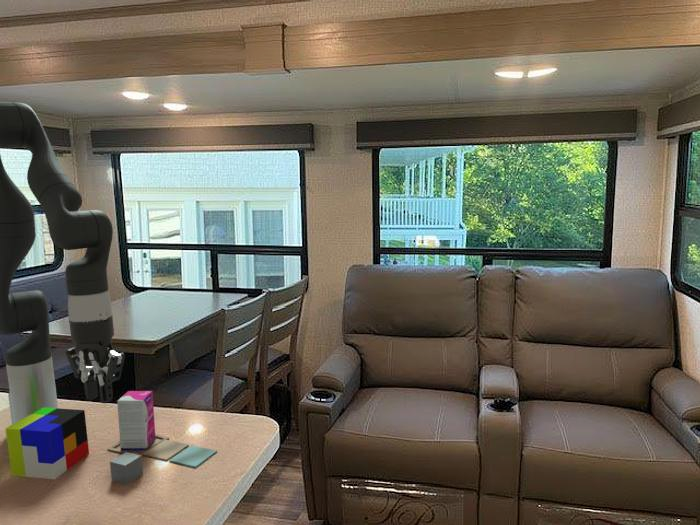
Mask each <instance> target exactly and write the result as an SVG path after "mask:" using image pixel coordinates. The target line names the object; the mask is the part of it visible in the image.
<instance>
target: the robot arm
mask: <svg viewBox="0 0 700 525" xmlns="http://www.w3.org/2000/svg"><path fill="white" fill-rule="evenodd" d="M17 148H18V149H20V148H22V149H23V148H26V149H27V150H28V151H29V152H30V153H31V159H30V163H29V166H28V169H27V174H26V179H27V184H28V187H29V190H30V191H31V193H32V194H33V196H34V197H35V199H36V201H37V202H38V203H39V205H40V206H41V207H42V209H43V212H44V215H45V219H46V223H47V227H48V233H49V236H50V239H51V241H52V243H54V245H55V246H57V247H58V248H60V249H62V250H66V251H72V250H74V251H75V250H80V249H81V250H82V249H86V250H85V253H84V256H83V257H82V258H80V259H78V260H76V261H73V262H71V263H69V264H67V266H66V267H65V282H66V291H67V314H68V323H69V332H70V340H71V342H72V343H74V344H75V346H73V347H71V348H68V349H66V350H65V355H66V358H67V360H68V363H69V366H70V367H71V370H72V373H73V376H74V377H75V378H76V379H80V380H81V382H82V383H83V386H84V395H85V398H86V400H87V401H93V400H96V399H97V398H98V396H99V398H100V399H99V400H100V403H101V404H107V403H110V402H111V401H113V398H114V393H113V390H114V389H113V382H115V381H119V380H120V379H121V376H122V371H123V367H124V365H125V364H124V363H125V358H126V354H125V353H124V352H120V353H118V352H116V351H115V349H114V347H113V344H112V339H113V337H114V335H115V329H114V328H115V327H114V318H113V308H112V300H111V296H110V295H111V294H110V291H109V283H108V282H109V281H108V273H107V272H108V271H107V269H108V263H109V258H110V251H111V246H112V243H113V242H112V241H113V233H114V232H113V231H114V227H113V224H112V220H111V219H110V217H109V216H108V215H107V213H105V212H104V211H102V210H98V209H91V210H80V209H81V207H82V205H83V197H82V195H81V193H80V192H79V190H78V188H77V187H76V185H75V184H74V183H73V182H72V180H71V179H70V177H69V176H68V174H67V173H66V172H65V171H64V169H63V166H61V164H60V162H59V159H58V158H57V155H56V153H55V151H54V149H53V147H52V143H51V142H50V139H49V138H48V135H47V133H46V131H45V129H44V127H43V124H42V123H41V120H40V119H39V117H38V115H37V113H36V112H35V111H34V110H33V108H32V107H31V106H30V105H28V104H27V103H22V102H16V101H0V149H17ZM35 220H36V219H35V210H34V208H33V206H32V204H31V202H30V200H29V199H28V198H27V197H26V195H25V194H24V192H22V190H20V188H19V187H18V186H17V185H16V183H14V181H13V179H11V177H10V176H9V174H8V173H7V171H6V168H5V167H4V163H3V160H2V155H1V154H0V336H8V335H15V334H21V333H27V332H30V334H29V335H28V337H26V338H25V339H24V340H22V341H21V342H19V343H17V344H15V345H13V346H11V347H10V348H8V349H7V350H6V351H5V355H4V358H5V360H4V361H5V365H6V373H7V381H8V388H9V392H8V395H7V396H8V397H7V398H8V402H9V403H8V404H9V409H10V410H9V411H10V418H11V419H10V420H11V425H13V424H15V423H16V422H18V421H20V420H22V419H24V418H25V417H27V416H29V415H31V414H33V413H35V412H36V411H38V410H40V409H42V408H44V407H45V408H59V407H58V398H57V395H58V394H57V387H56V381H55V380H56V379H55V372H54V364H53V357H52V356H53V355H52V346H51V335H50V318H49V317H50V316H49V306H48V300H47V298H46V295H45V294H44V292H43V291H41V290H36V289H35V290H28V291H27V290H26V291H20V292H19V291H18V292H12V293H10V290H11V284H12V282H13V279H14V276H15V274H16V272H17V270H18V268H20V265H21V264H22V263H23V261H24V259H25V258H26V256H28V254H29V252H30V251H31V250H32V247H33V246H34V243H35V241H36V222H35ZM78 365H79V366H78ZM104 374H105V375H106V376H105V375H104ZM96 377H97V379H98V380H97V379H96ZM97 381H98V382H97ZM98 384H99V385H98ZM98 388H99V389H98ZM98 390H99V391H98Z"/></svg>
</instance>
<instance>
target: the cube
mask: <svg viewBox="0 0 700 525" xmlns="http://www.w3.org/2000/svg"><path fill="white" fill-rule="evenodd" d="M128 452H129V451H127V452H125V453H124V454H120V455H118V456H117V457H116V458H113V459H112V460H111V461H109V465H110V474H111V475H110V476H111V481H112V480H113V482H115V483H116V482H117V483H120V484H124V485H128V484H130V483H132V482H133V481H134V480H136V479H138V478H139V477H141V476H142V475H143V474H144V472H143V463H142V461H143V460H142V456H141V455H136V454H137V453H136V454H132V453H133V452H131V453H128Z"/></svg>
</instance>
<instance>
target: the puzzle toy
mask: <svg viewBox="0 0 700 525" xmlns="http://www.w3.org/2000/svg"><path fill="white" fill-rule="evenodd" d="M5 435H6V442H7V450H8V459H9V464H10V465H9V466H10V474H11V475H12V476H17V477H28V478H37V479H46V480H47V479H48V480H56V479H58V478H59V477H60V476H62V475H63V474H64V473H65V472H67V471H68V470H69V469H71V468H73V466H75V465H77V464H78V463H79V462H80V461H82V460H83V459H84V458H85V456H86V457H87V456H88V455H90V449H89V447H90V446H89V441H88V440H89V439H88V429H87V421H86V411H85V410H84V409H73V408H59V407H58V408H45V407H44V408H42V409H40V410H38V411H36V412H35V413H33V414H31V415H29V416H27V417H25V418H24V419H22V420H20V421H18V422H16V423H15V424H13V425H12V424H11V425H9V426H7V427H6V428H5ZM82 458H83V459H82ZM81 459H82V460H81ZM78 461H79V462H78ZM77 462H78V463H77ZM74 464H75V465H74ZM70 467H71V468H70Z"/></svg>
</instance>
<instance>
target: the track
mask: <svg viewBox="0 0 700 525" xmlns="http://www.w3.org/2000/svg"><path fill="white" fill-rule="evenodd" d="M155 439H161V440H159V441H157V442H156V443H155V444H153V445H152V446H149V447H148V448H147V449H146V450H142V452H139V453H135V452H130V451H123V450H121V449H120V448H117V447H119V446H120V441H119V442H117V443H115V444H114V445H112V446H110V447H108V448H107V451H110V452H114V453H117V452H118V454H121V453H122V454H124V453H125V452H128V453H132V454H136V455H141V457H142V456H144V457H149V458H153V459H158V460H161V461H165V462H167V461H168V460H169V462H170V463H174V464H177V465H178V464H179V465H182V466H187V467H191V468H195V469H197V467H199V466H200V465H202V464H203V463H204V462H206V461H207V460H209V459H210V458H211V457H212V456H214V455H215V454H216V453H217V452H218V451H217V450H215V449H211V448H205V447H202V446H198V445H193V444H192V445H189V444H187V443H183V442H178V441H173V440H170V437H169V436H165V435H159V434H156V433H155ZM122 454H121V455H122Z"/></svg>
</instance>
